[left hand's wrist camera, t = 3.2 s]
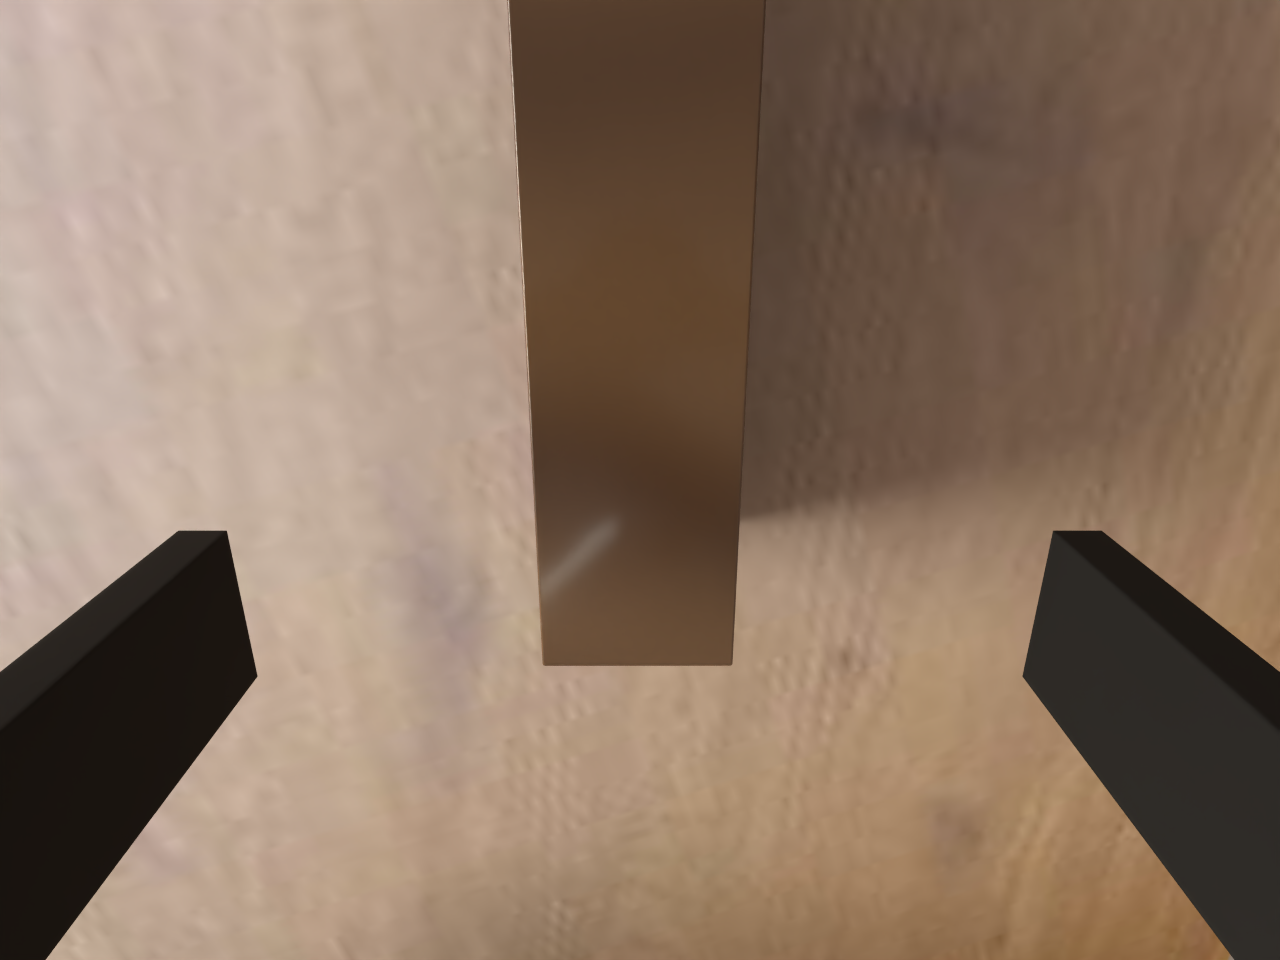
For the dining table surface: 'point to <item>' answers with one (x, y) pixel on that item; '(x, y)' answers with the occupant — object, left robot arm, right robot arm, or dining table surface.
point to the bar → (637, 315)
